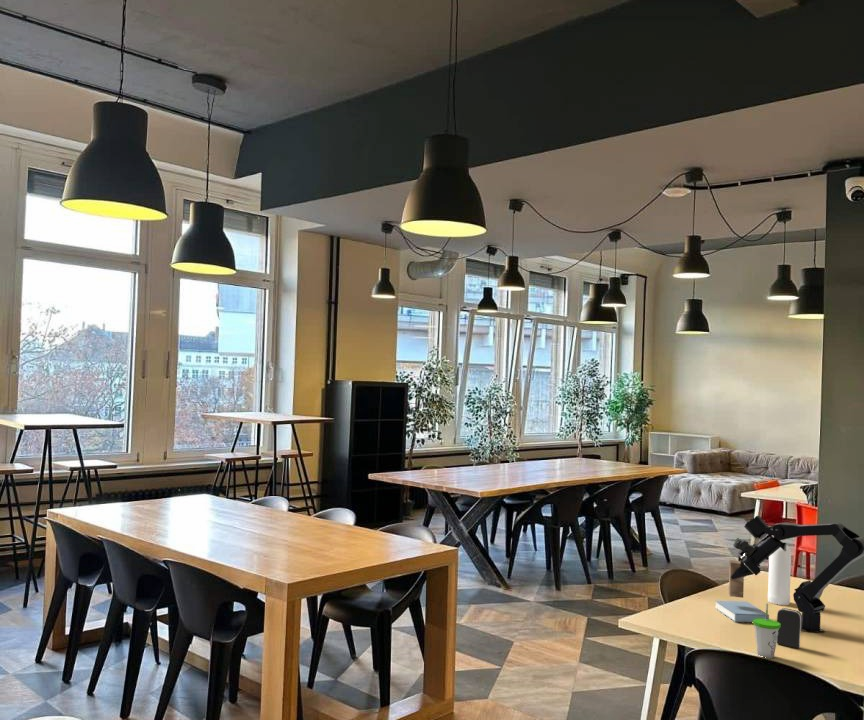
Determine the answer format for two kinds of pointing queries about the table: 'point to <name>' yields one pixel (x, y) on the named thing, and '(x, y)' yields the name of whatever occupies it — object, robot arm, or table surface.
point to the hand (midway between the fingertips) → (731, 576)
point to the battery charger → (789, 627)
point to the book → (740, 611)
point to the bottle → (779, 576)
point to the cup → (766, 635)
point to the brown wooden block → (735, 581)
